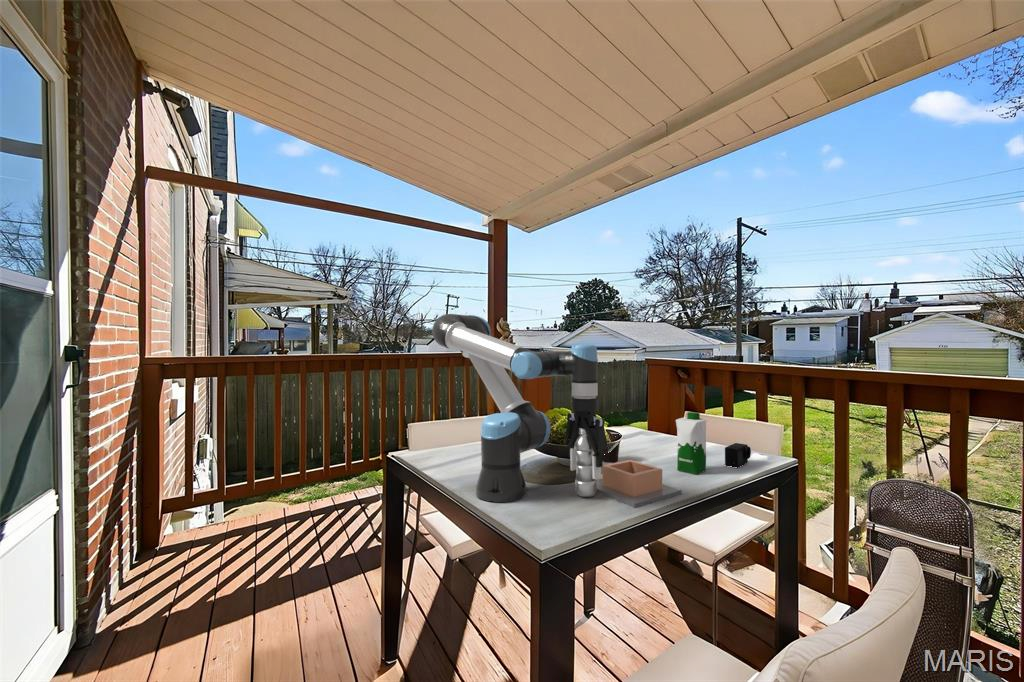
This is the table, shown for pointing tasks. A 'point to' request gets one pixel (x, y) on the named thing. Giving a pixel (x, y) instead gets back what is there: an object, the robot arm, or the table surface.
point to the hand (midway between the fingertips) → (585, 473)
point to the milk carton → (691, 443)
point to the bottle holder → (634, 483)
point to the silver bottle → (584, 466)
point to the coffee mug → (612, 454)
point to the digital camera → (737, 454)
